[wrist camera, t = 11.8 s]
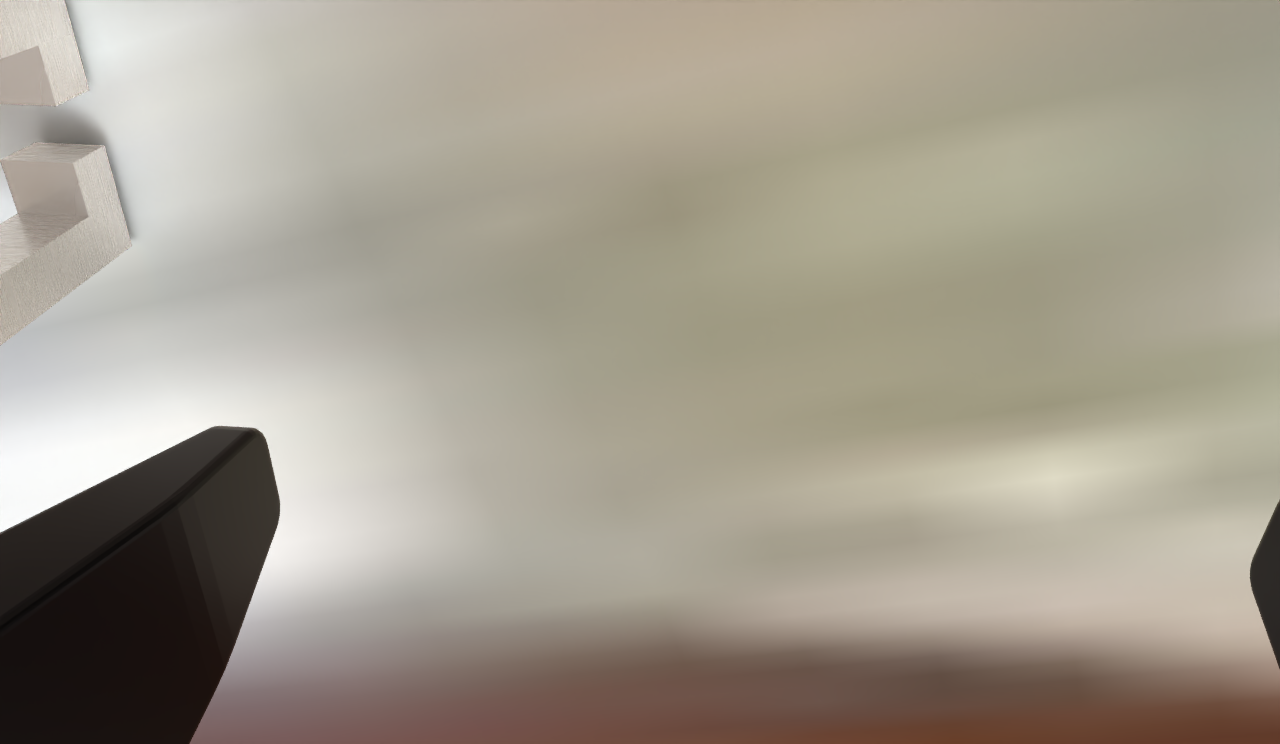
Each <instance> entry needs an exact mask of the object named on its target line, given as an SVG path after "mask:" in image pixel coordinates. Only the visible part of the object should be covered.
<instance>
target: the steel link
mask: <svg viewBox="0 0 1280 744" xmlns="http://www.w3.org/2000/svg"><path fill="white" fill-rule="evenodd" d="M88 91H89V87H88V83H87V80H86V76H85V72H84V69H83V65H82V62H81V58H80V54H79V51H78V47H77V43H76V40H75V36H74V32H73V29H72V25H71V21H70V18H69V14H68V11H67V7H66V3H65V0H0V104H17V105H42V106H57V105H60V104H62V103H64V102H66V101H68V100H70V99H72V98H75V97H77V96H79V95H81V94H83V93H85V92H88ZM0 161H1V164H2V167H3V170H4V173H5V176H6V179H7V182H8V185H9V188H10V191H11V194H12V197H13V200H14V203H15V206H16V209H17V212H18V214H16V215H14V216H13V217H11V218H9V219H8V220H6V221H4V222H3V223H1V224H0V346H1V345H2V344H3V343H4V342H6V341H7V340H8V339H10V338H11V337H12V336H14V335H15V334H16V333H18V332H19V331H20V330H22V329H23V328H24V327H26V326H27V325H28V324H30V323H31V322H32V321H33V320H35V319H36V318H37V317H39V316H40V315H41V314H43V313H44V312H45V311H47V310H48V309H49V308H51V307H52V306H53V305H55V304H56V303H57V302H59V301H60V300H61V299H62V298H64V297H65V296H66V295H68V294H69V293H70V292H72V291H73V290H74V289H76V288H77V287H78V286H80V285H81V284H82V283H84V282H85V281H86V280H88V279H89V278H90V277H91V276H93V275H94V274H95V273H97V272H98V271H99V270H101V269H102V268H103V267H105V266H106V265H107V264H109V263H110V262H111V261H113V260H114V259H115V258H117V257H118V256H119V255H121V254H122V253H123V252H124V251H126V250H127V249H128V248H130V247H131V246H132V244H131V240H130V236H129V233H128V229H127V225H126V222H125V218H124V215H123V211H122V207H121V204H120V200H119V196H118V193H117V189H116V185H115V182H114V178H113V174H112V171H111V167H110V164H109V160H108V156H107V153H106V149H105V145H86V144H62V143H38V142H35V143H33V144H31V145H29V146H27V147H25V148H23V149H21V150H19V151H17V152H15V153H13V154H11V155H9V156H7V157H5V158H3V159H1V160H0Z"/></svg>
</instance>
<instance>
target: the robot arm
mask: <svg viewBox="0 0 1280 744" xmlns="http://www.w3.org/2000/svg"><path fill="white" fill-rule="evenodd" d="M279 516H280V500H279V494H278V490H277V485H276V481H275V476H274V472H273V467H272V462H271V458H270V453H269V449H268V445H267V442H266V439H265V437H264V435H263V434H262V433H261V432H260V431H259V430H257V429H255V428H247V427H230V426H215V427H211V428H209V429H207V430H205V431H203V432H201V433H199V434H197V435H195V436H193V437H191V438H189V439H187V440H185V441H183V442H181V443H179V444H177V445H175V446H173V447H171V448H169V449H167V450H165V451H163V452H161V453H159V454H157V455H155V456H153V457H151V458H149V459H147V460H145V461H143V462H141V463H139V464H137V465H135V466H133V467H131V468H129V469H127V470H125V471H123V472H121V473H119V474H117V475H115V476H113V477H111V478H109V479H107V480H105V481H103V482H101V483H99V484H97V485H95V486H93V487H91V488H89V489H87V490H85V491H83V492H81V493H79V494H77V495H75V496H73V497H71V498H69V499H67V500H65V501H63V502H61V503H59V504H57V505H55V506H53V507H51V508H49V509H47V510H45V511H43V512H41V513H39V514H37V515H35V516H33V517H31V518H29V519H27V520H25V521H23V522H21V523H19V524H17V525H15V526H13V527H11V528H9V529H7V530H5V531H3V532H1V533H0V744H189V743H190V741H191V739H192V737H193V735H194V733H195V731H196V729H197V727H198V725H199V723H200V721H201V719H202V717H203V715H204V713H205V711H206V709H207V707H208V705H209V703H210V701H211V699H212V697H213V695H214V692H215V690H216V688H217V686H218V684H219V682H220V679H221V677H222V675H223V673H224V671H225V669H226V666H227V663H228V661H229V658H230V656H231V653H232V651H233V648H234V646H235V643H236V640H237V637H238V635H239V632H240V629H241V626H242V623H243V621H244V618H245V615H246V612H247V609H248V607H249V604H250V601H251V598H252V595H253V593H254V590H255V587H256V584H257V582H258V579H259V576H260V573H261V570H262V568H263V565H264V562H265V559H266V556H267V554H268V551H269V548H270V545H271V542H272V540H273V537H274V534H275V531H276V528H277V525H278V521H279ZM1250 581H1251V587H1252V591H1253V594H1254V597H1255V600H1256V603H1257V606H1258V608H1259V611H1260V614H1261V617H1262V620H1263V623H1264V626H1265V628H1266V631H1267V634H1268V637H1269V640H1270V643H1271V646H1272V648H1273V651H1274V654H1275V657H1276V660H1277V663H1278V666H1279V668H1280V501H1279V502H1278V504H1277V506H1276V508H1275V510H1274V513H1273V515H1272V517H1271V519H1270V521H1269V524H1268V526H1267V528H1266V530H1265V533H1264V535H1263V537H1262V539H1261V541H1260V544H1259V546H1258V548H1257V550H1256V552H1255V555H1254V557H1253V560H1252V563H1251V568H1250Z"/></svg>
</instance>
